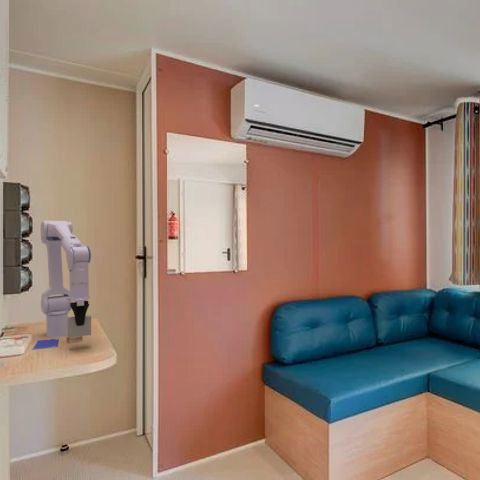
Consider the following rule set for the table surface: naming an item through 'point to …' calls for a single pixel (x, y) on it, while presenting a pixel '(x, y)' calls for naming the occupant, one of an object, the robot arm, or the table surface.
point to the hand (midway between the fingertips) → (80, 324)
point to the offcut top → (74, 339)
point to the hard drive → (46, 344)
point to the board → (79, 327)
